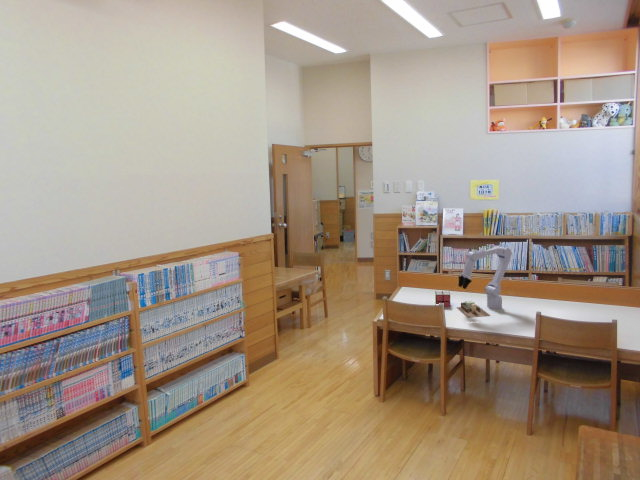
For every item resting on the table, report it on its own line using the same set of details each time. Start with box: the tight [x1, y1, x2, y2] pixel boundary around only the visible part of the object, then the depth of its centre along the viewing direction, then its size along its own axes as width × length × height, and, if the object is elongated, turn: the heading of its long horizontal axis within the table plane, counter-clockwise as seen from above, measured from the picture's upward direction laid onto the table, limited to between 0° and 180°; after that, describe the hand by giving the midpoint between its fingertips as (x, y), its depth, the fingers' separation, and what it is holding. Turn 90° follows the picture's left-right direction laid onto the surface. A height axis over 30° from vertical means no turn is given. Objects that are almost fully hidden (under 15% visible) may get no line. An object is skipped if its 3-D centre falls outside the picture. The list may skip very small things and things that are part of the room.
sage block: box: [464, 300, 477, 313], centre depth 324 cm, size 5×12×6 cm, turn 3°
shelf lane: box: [455, 301, 491, 318], centre depth 321 cm, size 16×22×4 cm
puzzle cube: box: [434, 290, 451, 308], centre depth 339 cm, size 10×10×10 cm
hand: (461, 287), depth 319 cm, fingers open, 7 cm apart
